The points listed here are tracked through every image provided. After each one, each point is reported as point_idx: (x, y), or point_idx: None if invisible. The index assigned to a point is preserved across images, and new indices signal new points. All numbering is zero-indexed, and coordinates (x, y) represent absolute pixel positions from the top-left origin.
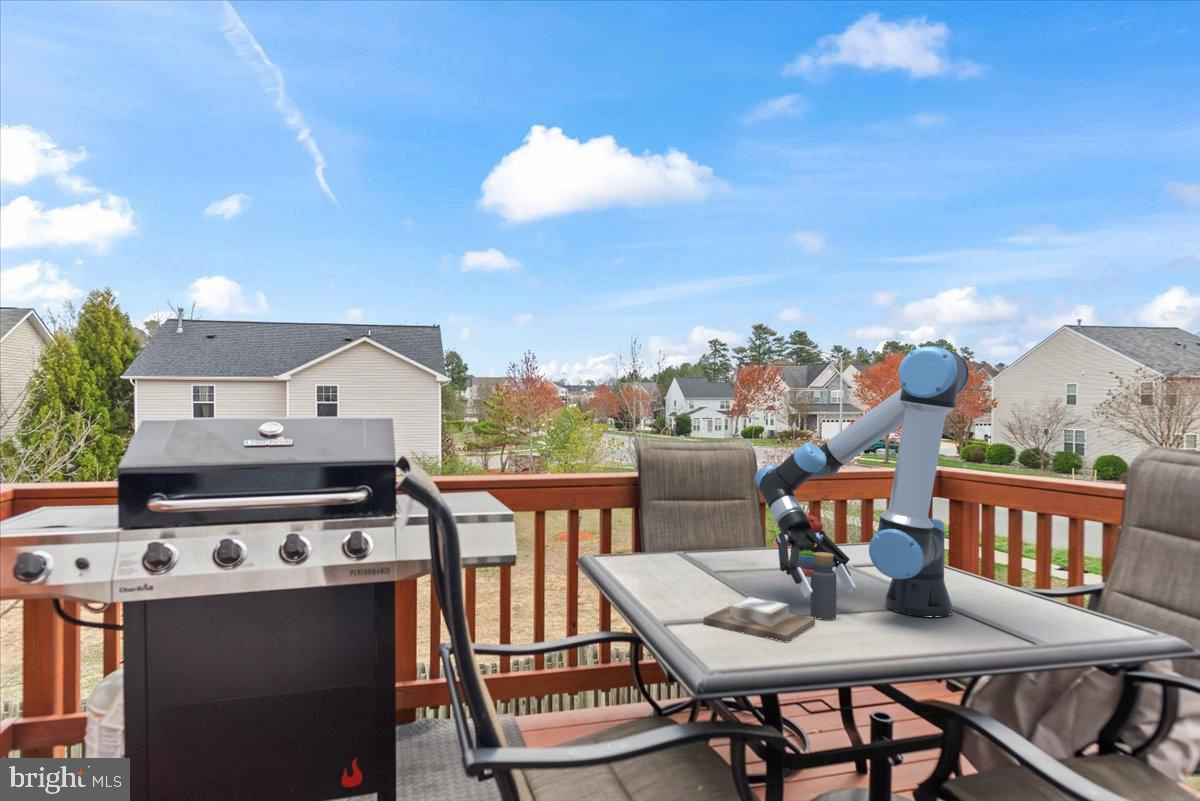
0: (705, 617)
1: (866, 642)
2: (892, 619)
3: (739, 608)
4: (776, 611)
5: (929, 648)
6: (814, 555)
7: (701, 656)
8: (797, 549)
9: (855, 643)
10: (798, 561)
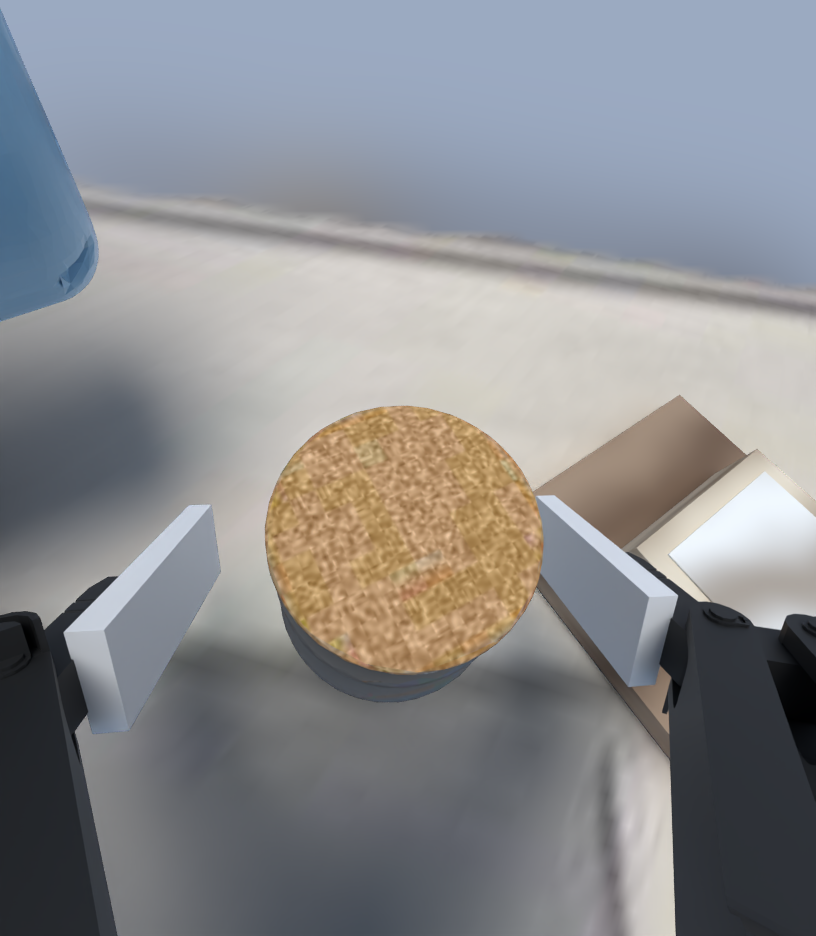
0: None
1: (424, 344)
2: (101, 496)
3: None
4: (723, 476)
5: (288, 267)
6: (535, 554)
7: None
8: (778, 868)
9: (462, 348)
10: None
